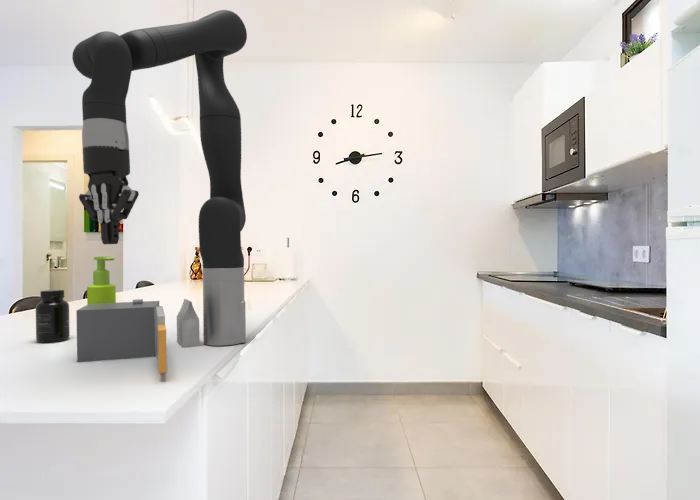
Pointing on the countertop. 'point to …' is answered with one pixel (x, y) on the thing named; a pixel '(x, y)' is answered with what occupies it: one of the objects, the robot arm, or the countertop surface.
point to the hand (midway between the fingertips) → (110, 244)
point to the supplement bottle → (52, 317)
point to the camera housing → (117, 330)
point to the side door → (161, 340)
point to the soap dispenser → (101, 284)
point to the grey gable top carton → (187, 326)
